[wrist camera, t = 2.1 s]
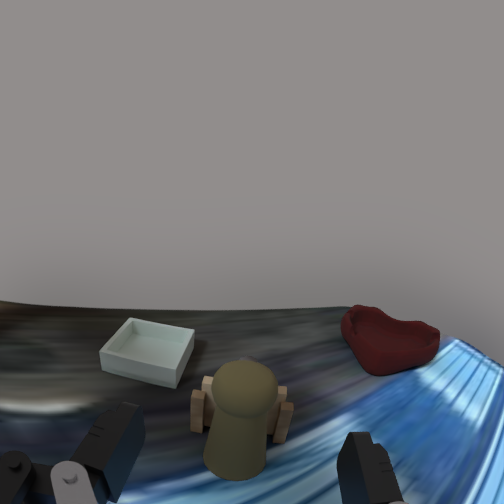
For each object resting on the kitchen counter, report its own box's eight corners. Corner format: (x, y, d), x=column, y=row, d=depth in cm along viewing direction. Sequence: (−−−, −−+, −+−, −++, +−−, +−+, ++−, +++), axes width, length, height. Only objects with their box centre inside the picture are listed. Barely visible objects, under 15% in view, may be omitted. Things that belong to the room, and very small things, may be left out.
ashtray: (315, 359, 45) (322, 331, 44) (349, 323, 58) (355, 300, 57) (424, 398, 35) (437, 369, 34) (434, 351, 48) (443, 326, 47)
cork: (238, 428, 29) (251, 343, 27) (279, 461, 25) (303, 377, 22) (190, 449, 25) (191, 362, 23) (229, 491, 21) (242, 408, 18)
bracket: (190, 431, 28) (191, 363, 26) (200, 399, 33) (203, 334, 31) (284, 443, 28) (302, 378, 25) (283, 410, 33) (298, 346, 31)
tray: (101, 370, 34) (99, 351, 34) (130, 334, 44) (129, 317, 43) (175, 389, 34) (175, 369, 33) (193, 347, 44) (194, 329, 43)
